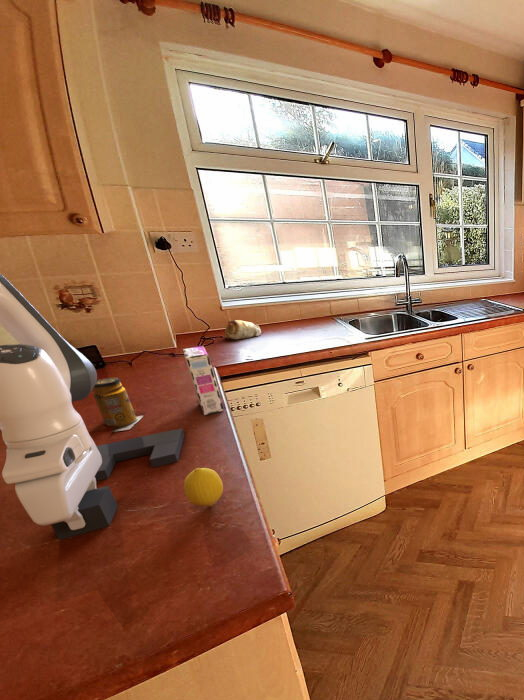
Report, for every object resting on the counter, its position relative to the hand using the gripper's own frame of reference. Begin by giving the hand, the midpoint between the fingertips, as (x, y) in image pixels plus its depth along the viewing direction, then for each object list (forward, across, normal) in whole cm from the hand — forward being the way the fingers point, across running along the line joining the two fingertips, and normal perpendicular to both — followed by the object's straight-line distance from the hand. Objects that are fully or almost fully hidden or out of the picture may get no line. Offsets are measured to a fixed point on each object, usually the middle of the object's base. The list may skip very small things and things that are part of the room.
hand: (86, 513), depth 73 cm
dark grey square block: (+2, 0, 0) cm, 2 cm away
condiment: (+2, -46, -4) cm, 46 cm away
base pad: (+2, -23, +3) cm, 23 cm away
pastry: (+2, -129, +24) cm, 131 cm away
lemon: (+2, +6, +18) cm, 19 cm away
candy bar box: (+2, -46, +16) cm, 49 cm away
